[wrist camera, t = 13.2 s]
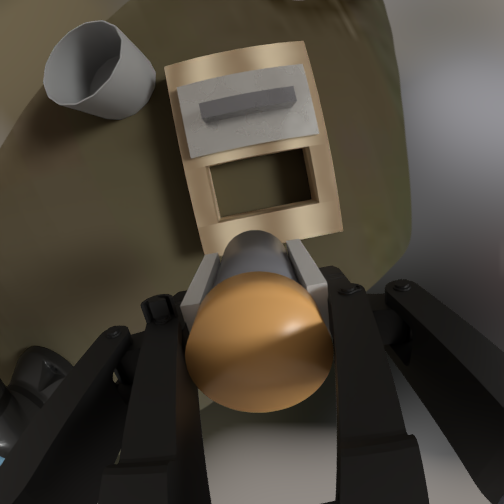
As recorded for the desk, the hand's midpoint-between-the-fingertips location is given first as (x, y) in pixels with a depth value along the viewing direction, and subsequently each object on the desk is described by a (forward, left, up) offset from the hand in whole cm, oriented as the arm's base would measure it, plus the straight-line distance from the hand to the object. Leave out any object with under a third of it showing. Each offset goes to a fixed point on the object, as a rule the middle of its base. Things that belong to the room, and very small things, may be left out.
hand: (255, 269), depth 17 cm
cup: (-11, +19, -16) cm, 27 cm away
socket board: (+2, +8, -15) cm, 17 cm away
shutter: (+2, +11, -12) cm, 17 cm away
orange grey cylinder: (0, 0, -1) cm, 1 cm away
